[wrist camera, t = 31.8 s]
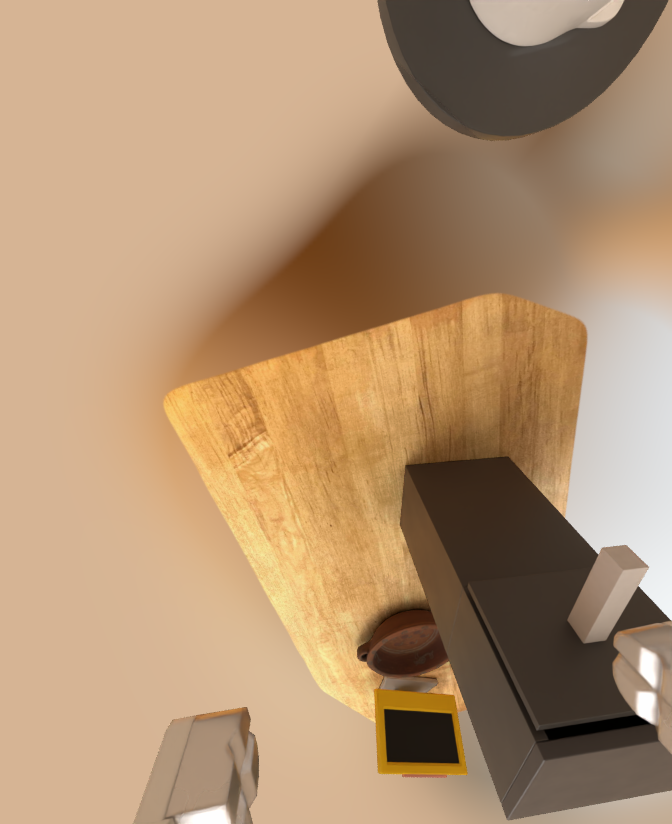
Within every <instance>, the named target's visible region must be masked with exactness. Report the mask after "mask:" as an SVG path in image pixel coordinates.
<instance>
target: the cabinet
mask: <svg viewBox="0 0 672 824" xmlns="http://www.w3.org/2000/svg"><path fill="white" fill-rule="evenodd" d="M400 526H401V529H402V531H403V534H404V537H405V540H406V543H407V545H408V548H409V551H410V554H411V556H412V559H413V562H414V565H415V567H416V570H417V573H418V576H419V578H420V581H421V584H422V587H423V589H424V592H425V595H426V598H427V601H428V603H429V606H430V609H431V612H432V614H433V617H434V620H435V623H436V625H437V628H438V631H439V634H440V636H441V639H442V642H443V645H444V647H445V650H446V653H447V656H448V658H449V661H450V664H451V667H452V669H453V672H454V675H455V678H456V681H457V683H458V686H459V689H460V692H461V694H462V697H463V700H464V703H465V705H466V708H467V711H468V714H469V716H470V719H471V722H472V725H473V727H474V730H475V733H476V736H477V738H478V741H479V744H480V746H481V750H482V752H483V755H484V758H485V760H486V763H487V766H488V769H489V772H490V774H491V777H492V780H493V783H494V785H495V788H496V791H497V794H498V796H499V799H500V802H501V803H502V807H503V810H504V812H505V815H506V818H507V820H513V819H518V818H524V817H529V816H534V815H540V814H546V813H551V812H556V811H562V810H567V809H573V808H578V807H583V806H589V805H594V804H600V803H605V802H611V801H616V800H622V799H627V798H633V797H638V796H643V795H649V794H654V793H660V792H665V791H671V790H672V754H671V753H670V752H669V751H668V750H667V749H666V748H665V746H664V745H663V744H662V743H661V742H660V741H659V740H658V736H657V732H656V728H655V725H653V724H652V723H651V724H645V725H639V726H633V727H627V728H621V729H615V730H609V731H602V732H596V733H590V734H584V735H578V736H572V737H566V738H560V739H554V740H548V737H547V735H546V733H545V731H544V730H538V731H537V730H536V728H535V726H534V724H533V722H532V720H531V718H530V715H529V713H528V711H527V709H526V707H525V705H524V703H523V701H522V699H521V697H520V695H519V693H518V691H517V689H516V687H515V684H514V682H513V680H512V678H511V676H510V674H509V672H508V670H507V668H506V666H505V664H504V662H503V660H502V658H501V656H500V653H499V651H498V649H497V647H496V645H495V643H494V641H493V639H492V637H491V635H490V633H489V631H488V629H487V627H486V625H485V622H484V620H483V618H482V616H481V614H480V612H479V610H478V608H477V606H476V604H475V602H474V600H473V598H472V596H471V593H470V591H469V589H468V583H469V582H474V581H483V580H491V579H500V578H508V577H517V576H525V575H533V574H542V573H550V572H559V571H567V570H576V569H584V568H593V565H594V563H595V561H596V559H597V557H598V554H597V553H596V552H595V550H593V548H592V547H591V546H590V545H589V544H588V543H587V542H586V541H585V540H584V539H583V537H582V536H580V534H579V533H578V532H577V531H576V530H575V529H574V528H573V527H572V525H571V524H570V523H569V522H568V521H567V520H566V519H565V518H564V517H563V516H562V515H561V513H560V512H559V511H558V510H557V509H556V508H555V507H554V506H553V505H552V504H551V503H550V502H549V500H548V499H547V498H546V497H545V496H544V495H543V494H542V493H541V492H540V491H539V490H538V488H537V487H536V486H535V485H534V484H533V483H532V482H531V481H530V480H529V479H528V478H527V477H526V475H525V474H524V473H523V472H522V471H521V470H520V469H519V468H518V467H517V466H516V465H515V463H514V462H513V461H512V460H511V459H510V458H509V457H499V458H487V459H475V460H463V461H452V462H440V463H428V464H416V465H406V466H405V476H404V487H403V498H402V509H401V519H400Z"/></svg>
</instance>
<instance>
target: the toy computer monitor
mask: <svg viewBox="0 0 672 824" xmlns="http://www.w3.org/2000/svg"><path fill="white" fill-rule="evenodd" d="M437 684H438V682H437V679H432V678H422V677H408V678H393V677H386V676H385V677H384V679H383V681H382V683H381V686H380V688H379V689H375V690H374V696H375V718H376V740H377V763H378V773H379V774H402V776H403V777H437V778H439V777H440V778H445V777H447V775H467V767H466V762H465V756H464V749H463V744H462V737H461V732H460V725H459V719H458V713H457V708H456V702H455V696H454V695H446V694H435V693H427V692H428V691H429V690H431V689H432V688H433V687H435V686H436V685H437Z"/></svg>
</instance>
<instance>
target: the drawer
mask: <svg viewBox="0 0 672 824" xmlns="http://www.w3.org/2000/svg"><path fill="white" fill-rule="evenodd" d="M648 568H649V567H648V566H647V565H646V564H645V563H644V562H643V561H642V560H641V559H640V558H639V557H638V556H637V555H636V554H635V553H634V552H633V551H632V550H631V549H630V548H629V547H628V546H626V545H622V546H613V547H604V548H602V549H601V551H600V553H599V555H598V557H597V559H596V561H595V563H594V565H593V568H584V569H576V570H567V571H559V572H550V573H542V574H533V575H525V576H517V577H508V578H500V579H491V580H483V581H474V582H469V583H468V589H469V591H470V593H471V596H472V598H473V600H474V602H475V604H476V606H477V608H478V610H479V612H480V614H481V616H482V618H483V620H484V622H485V625H486V627H487V629H488V631H489V633H490V635H491V637H492V639H493V641H494V643H495V645H496V647H497V649H498V651H499V653H500V656H501V658H502V660H503V662H504V664H505V666H506V668H507V670H508V672H509V674H510V676H511V678H512V680H513V682H514V684H515V687H516V689H517V691H518V693H519V695H520V697H521V699H522V701H523V703H524V705H525V707H526V709H527V711H528V713H529V715H530V718H531V720H532V722H533V724H534V726H535V728H536V730H537V731H538V730H544V731H545V733H546V735H547V737H548V740H554V739H560V738H566V737H572V736H578V735H584V734H590V733H596V732H602V731H609V730H615V729H621V728H627V727H633V726H639V725H645V724H651V723H650V722H648V721H647V720H645V719H643V718H641V717H640V716H638V715H637V714H636V713H635V712H634V710H633V709H632V708H631V707H630V706H629V705H628V703H627V702H626V701H625V699H624V697H623V696H622V694H621V693H620V691H619V689H618V687H617V684H616V682H615V679H614V677H613V661H614V660H615V659H616V657H617V656H618V654H619V651H618V650H617V649H616V648H615V647H614V646H613V643H614V636H615V635H616V633H617V632H618V631H623V630H627V629H632V628H637V627H641V626H646V625H650V624H655V623H663V622H668V621H671V620H670V619H669V618H668V617H667V616H666V615H665V614H664V613H663V612H662V611H661V610H660V609H659V607H658V606H657V605H656V604H655V603H654V602H653V601H652V600H651V599H650V598H649V597H648V596H647V595H646V594H645V593H644V592H643V591H642V590H641V589H640V587H639V586H638V585H639V584H640V582H641V580H642V578H643V577H644V575H645V573H646V572H647V570H648Z"/></svg>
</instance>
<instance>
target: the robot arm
mask: <svg viewBox="0 0 672 824" xmlns="http://www.w3.org/2000/svg"><path fill="white" fill-rule="evenodd" d="M469 1H470V3H471V5H472V7H473V9H474V11H475V13H476V15H477V16H478V18H479V19H480V21H481V22H482V24H483V25H484V26H485V27H486V28H487V29H488V30H489V31H490V32H491V33H492V34H493V35H494V36H496V37H497V38H499V39H500V40H502V41H504V42H507V43H509V44H512V45H517V46H535V45H539V44H543V43H546V42H549V41H551V40H553V39H555V38H557V37H558V36H560V35H562V34H564V33H566V32H567V31H570V30H572V29H575V28H597V27H601V26H603V25H605V24H606V23H607V22H608V21H610V20H611V19H612V18H613V17H614V16H615V15H616V14H617V13H618V11H619V9H620V8H621V6H622V4H623V2H624V0H469ZM613 646H614V647H615V648H616V649H617V650H618V651H619V654H618V656H617V657H616V659H615V660H614V661H613V677H614V679H615V682H616V684H617V687H618V689H619V691H620V693H621V694H622V696H623V697H624V699H625V701H626V702H627V703H628V705H629V706H630V707H631V708H632V709H633V710H634V712H635V713H636V714H637V715H638V716H640V717H641V718H643V719H645V720H647V721H648V722H650V723H652V724H653V725H655V728H656V732H657V736H658V740H659V741H660V742H661V743H662V744H663V745H664V746H665V748H666V749H667V750H668V751H669V752H670V753H671V754H672V621H668V622H663V623H655V624H650V625H646V626H641V627H637V628H632V629H627V630H623V631H618V632H617V633H616V635H615V636H614V643H613ZM250 720H251V719H250V715H249V712H248V709H247V707H243V708H237V709H232V710H225V711H219V712H214V713H207V714H201V715H196V716H190V717H186V718H180V719H174V720H172V722H171V723H170V725H169V726H168V728H167V730H166V732H165V735H164V738H163V741H162V744H161V746H160V749H159V752H158V755H157V758H156V760H155V763H154V766H153V769H152V772H151V775H150V777H149V780H148V783H147V786H146V789H145V792H144V795H143V797H142V800H141V803H140V806H139V809H138V812H137V814H136V817H135V820H134V823H133V824H253V822H252V818H251V815H250V811H249V808H250V807H251V805H252V803H253V801H254V800H255V798H256V796H257V788H258V778H259V756H258V747H257V742H256V738H255V735H254V734H252V733H251V732H250V731H249V727H250Z"/></svg>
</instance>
